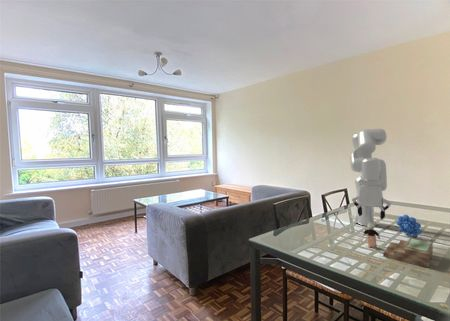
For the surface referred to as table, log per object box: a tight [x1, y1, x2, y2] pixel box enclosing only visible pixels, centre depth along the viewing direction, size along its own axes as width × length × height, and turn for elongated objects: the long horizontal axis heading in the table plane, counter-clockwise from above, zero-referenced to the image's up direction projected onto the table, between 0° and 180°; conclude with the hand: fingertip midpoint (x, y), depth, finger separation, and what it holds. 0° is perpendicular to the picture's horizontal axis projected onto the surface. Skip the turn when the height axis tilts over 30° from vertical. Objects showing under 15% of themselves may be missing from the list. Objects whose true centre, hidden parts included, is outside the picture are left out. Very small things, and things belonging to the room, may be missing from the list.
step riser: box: [383, 237, 434, 269], centre depth 110 cm, size 16×16×6 cm
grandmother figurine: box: [362, 223, 381, 250], centre depth 121 cm, size 8×4×13 cm, turn 65°
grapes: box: [395, 214, 423, 238], centre depth 132 cm, size 12×7×12 cm, turn 37°
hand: (371, 217), depth 120 cm, fingers open, 9 cm apart
